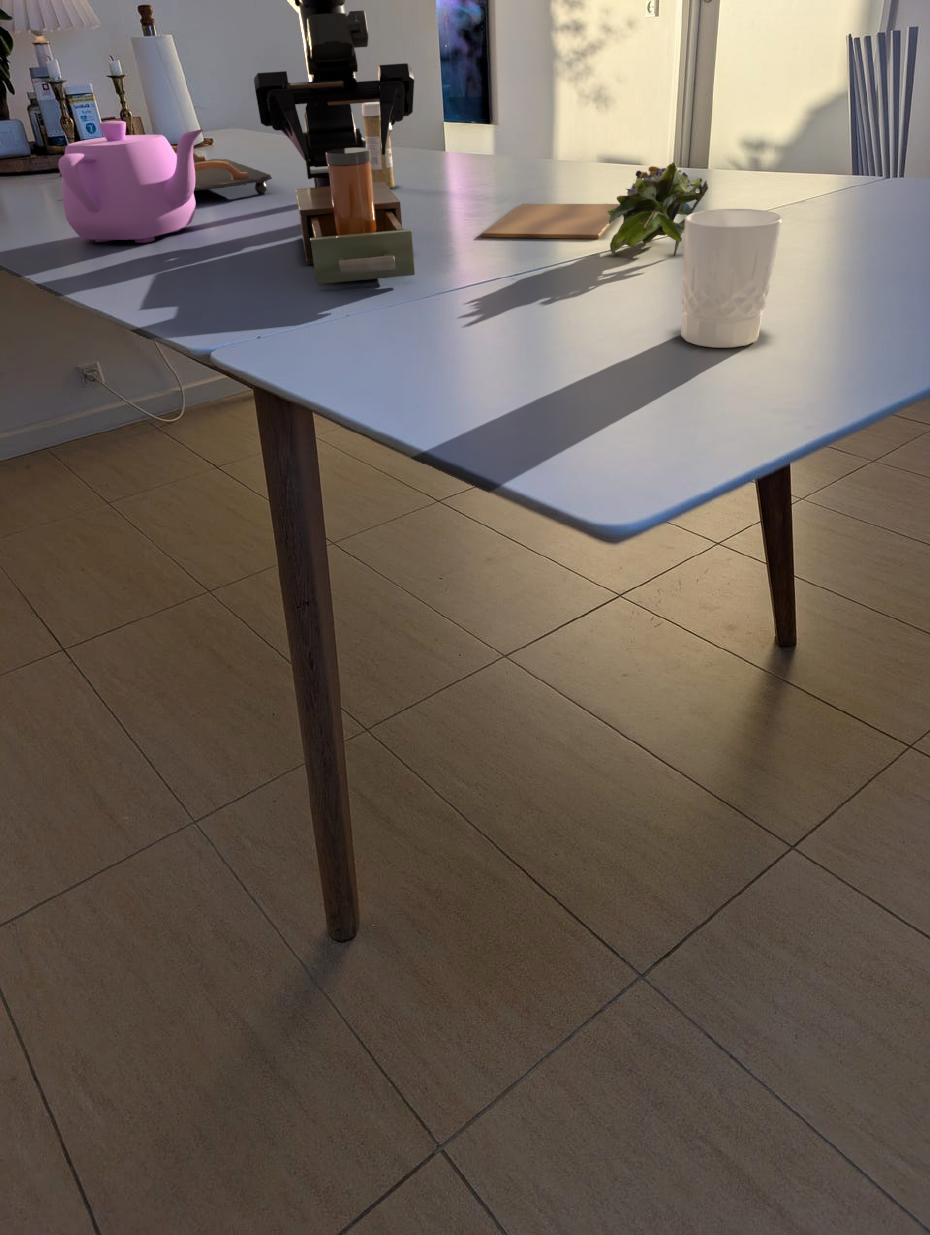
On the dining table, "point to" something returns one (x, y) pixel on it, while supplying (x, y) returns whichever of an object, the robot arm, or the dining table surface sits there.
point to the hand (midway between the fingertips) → (345, 155)
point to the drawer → (361, 250)
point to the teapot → (128, 185)
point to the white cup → (727, 274)
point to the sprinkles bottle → (377, 145)
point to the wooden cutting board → (553, 221)
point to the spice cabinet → (321, 203)
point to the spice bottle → (351, 190)
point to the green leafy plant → (655, 206)
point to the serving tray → (225, 174)
